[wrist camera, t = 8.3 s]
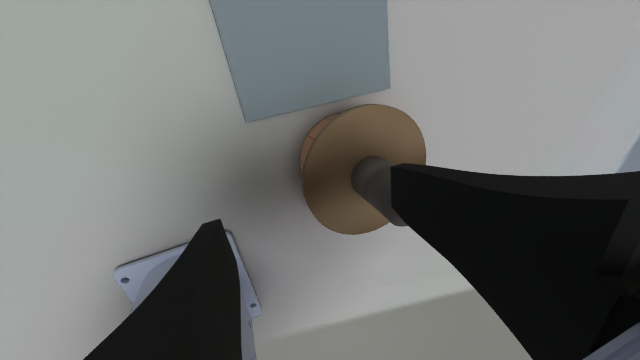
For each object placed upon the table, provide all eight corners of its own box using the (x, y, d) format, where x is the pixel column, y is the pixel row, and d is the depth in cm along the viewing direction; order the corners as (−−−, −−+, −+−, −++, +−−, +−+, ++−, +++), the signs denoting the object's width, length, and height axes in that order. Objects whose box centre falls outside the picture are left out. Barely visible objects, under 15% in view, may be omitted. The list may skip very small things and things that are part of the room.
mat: (386, 87, 20) (390, 88, 19) (245, 121, 17) (246, 122, 16) (377, -109, 15) (382, -115, 14) (177, -105, 12) (176, -112, 12)
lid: (420, 206, 20) (469, 238, 16) (316, 247, 18) (343, 296, 14) (420, 89, 16) (485, 94, 12) (286, 124, 14) (313, 145, 10)
